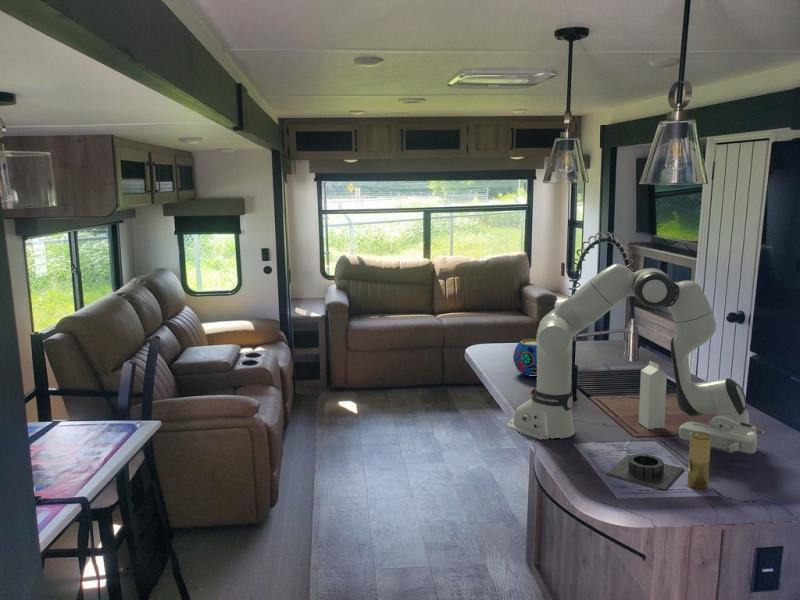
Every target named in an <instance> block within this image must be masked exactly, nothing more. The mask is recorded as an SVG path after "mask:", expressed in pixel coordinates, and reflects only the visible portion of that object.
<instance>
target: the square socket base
mask: <svg viewBox="0 0 800 600" xmlns="http://www.w3.org/2000/svg"><path fill="white" fill-rule="evenodd" d="M683 471H685V470H684V468H683V467H679V466H675V465H672V464H667V463H664V461H663V459H662V458H660V457H657V456H655V455H652V454H646V453H635V454H627V455H625V456H624V457H623V458H622V459H621V460H620V461H619V462H617V463H615V465H614V466H613V467H612V468H611V469H609V470H608V471H607V472H606V475H607V476H609V475H610V476H609V477H613V478H617V479H621V480H625V481H628V482H632V483H635V482H636V484H638V483H639V484H640V485H642V484H643V485H642V486H646V487H649V486H650V488H654V489H657V488H658V489H657V490H661V491H664V492H665V491H666V490H667V489H668V488H669V487H670V485H672V483H673V482H674V481H675V480H677V478H678V477H679V476H680V475H681V474H682V472H683Z"/></svg>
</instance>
